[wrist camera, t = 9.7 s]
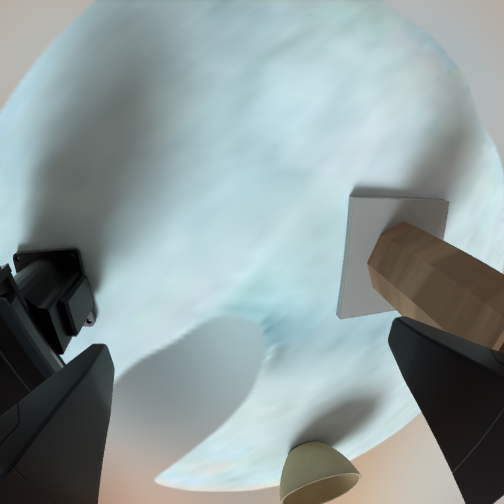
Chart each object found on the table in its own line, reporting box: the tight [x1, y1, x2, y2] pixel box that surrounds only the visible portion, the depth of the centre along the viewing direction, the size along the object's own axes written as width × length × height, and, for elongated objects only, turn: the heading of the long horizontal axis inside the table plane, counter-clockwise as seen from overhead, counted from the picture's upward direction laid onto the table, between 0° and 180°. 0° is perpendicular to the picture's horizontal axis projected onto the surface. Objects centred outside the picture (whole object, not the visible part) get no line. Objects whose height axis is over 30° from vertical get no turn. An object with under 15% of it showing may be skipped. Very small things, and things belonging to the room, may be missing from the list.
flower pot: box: [280, 441, 361, 504], centre depth 29 cm, size 10×10×7 cm
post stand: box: [336, 196, 449, 319], centre depth 21 cm, size 10×10×5 cm
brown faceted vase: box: [367, 221, 504, 353], centre depth 17 cm, size 6×6×13 cm
